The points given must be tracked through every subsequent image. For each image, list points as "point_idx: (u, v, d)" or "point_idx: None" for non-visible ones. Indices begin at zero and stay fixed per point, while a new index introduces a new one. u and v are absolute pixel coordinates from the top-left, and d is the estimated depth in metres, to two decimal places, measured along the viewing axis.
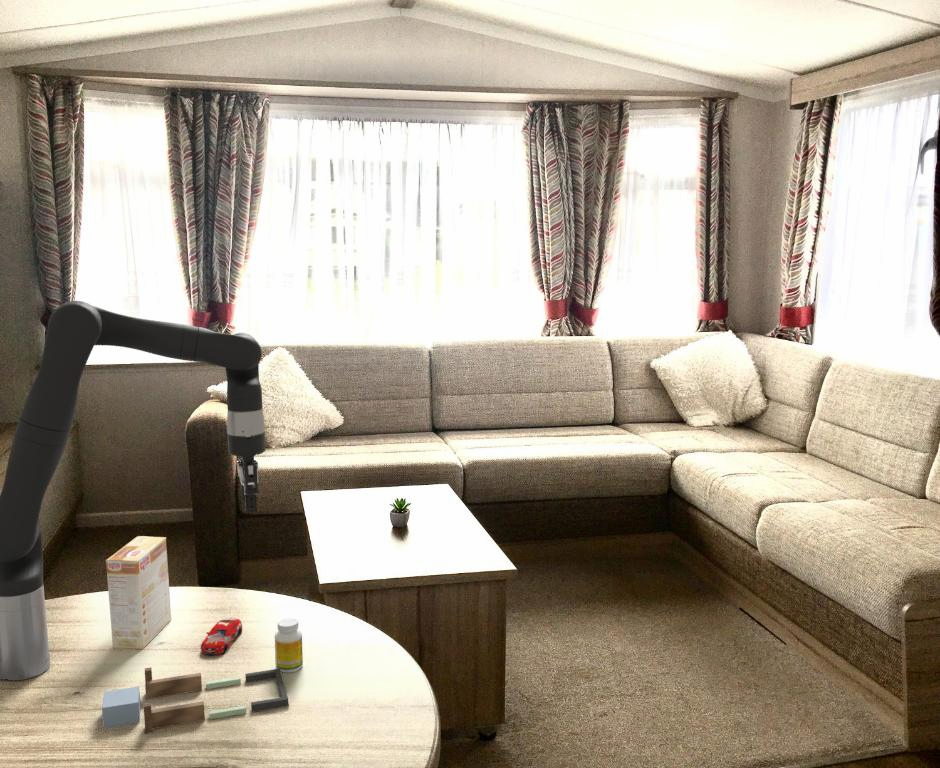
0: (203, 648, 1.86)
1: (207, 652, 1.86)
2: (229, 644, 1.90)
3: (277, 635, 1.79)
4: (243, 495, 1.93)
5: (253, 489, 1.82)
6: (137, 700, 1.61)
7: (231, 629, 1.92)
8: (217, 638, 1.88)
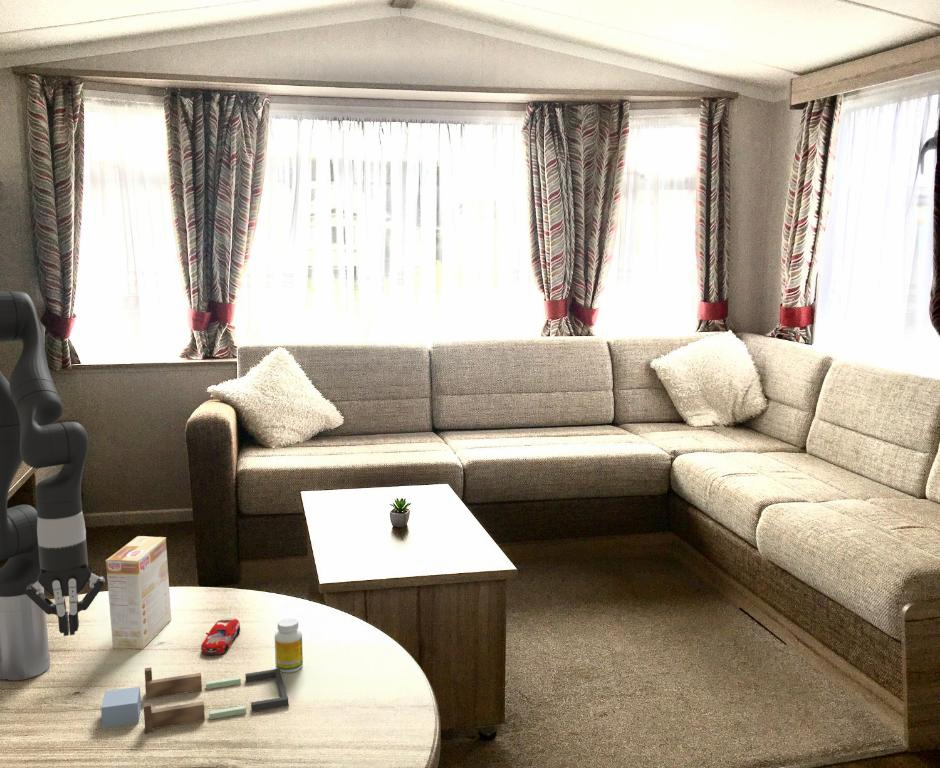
0: (204, 648, 1.86)
1: (208, 652, 1.86)
2: (229, 644, 1.90)
3: (277, 635, 1.79)
4: (67, 629, 1.57)
5: None
6: (136, 700, 1.61)
7: (231, 629, 1.92)
8: (217, 638, 1.88)
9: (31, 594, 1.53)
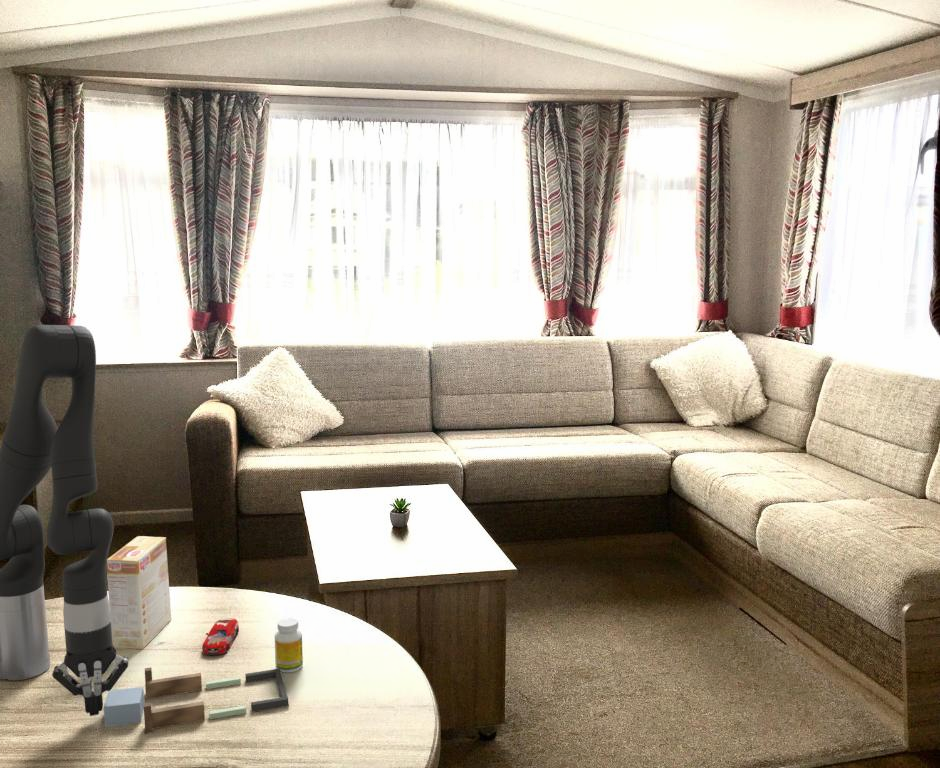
0: (205, 649, 1.86)
1: (210, 653, 1.86)
2: (230, 644, 1.90)
3: (277, 635, 1.79)
4: None
5: None
6: (139, 700, 1.61)
7: (231, 629, 1.92)
8: (218, 638, 1.88)
9: (58, 677, 1.57)
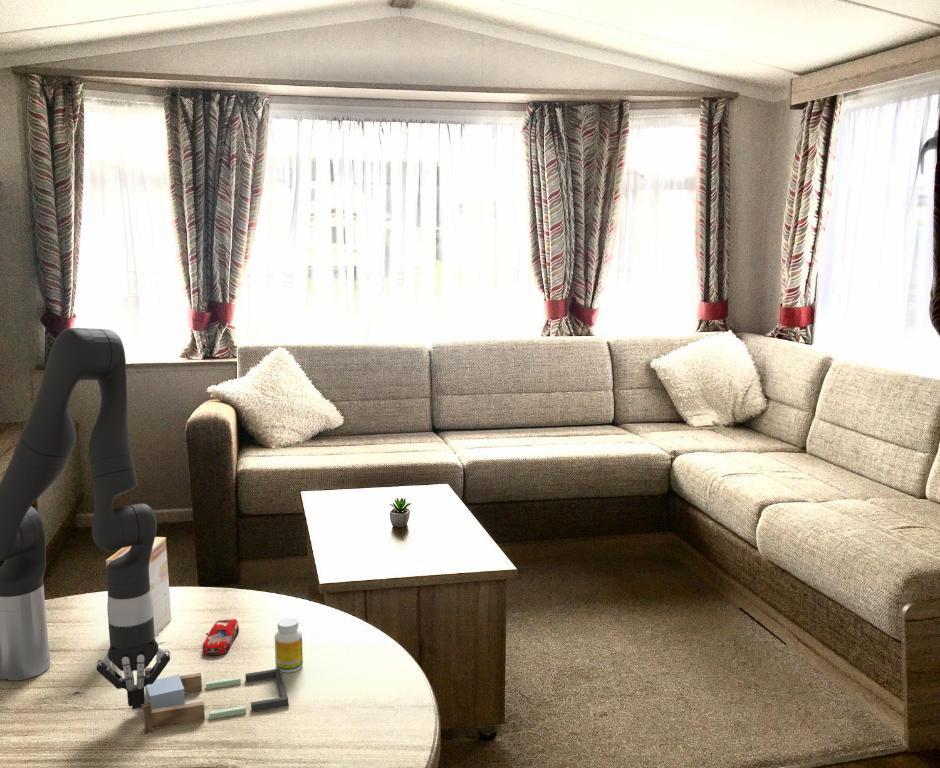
0: (205, 649, 1.86)
1: (210, 653, 1.86)
2: (230, 644, 1.90)
3: (277, 635, 1.79)
4: None
5: None
6: (182, 687, 1.65)
7: (231, 629, 1.92)
8: (218, 638, 1.88)
9: (102, 670, 1.59)
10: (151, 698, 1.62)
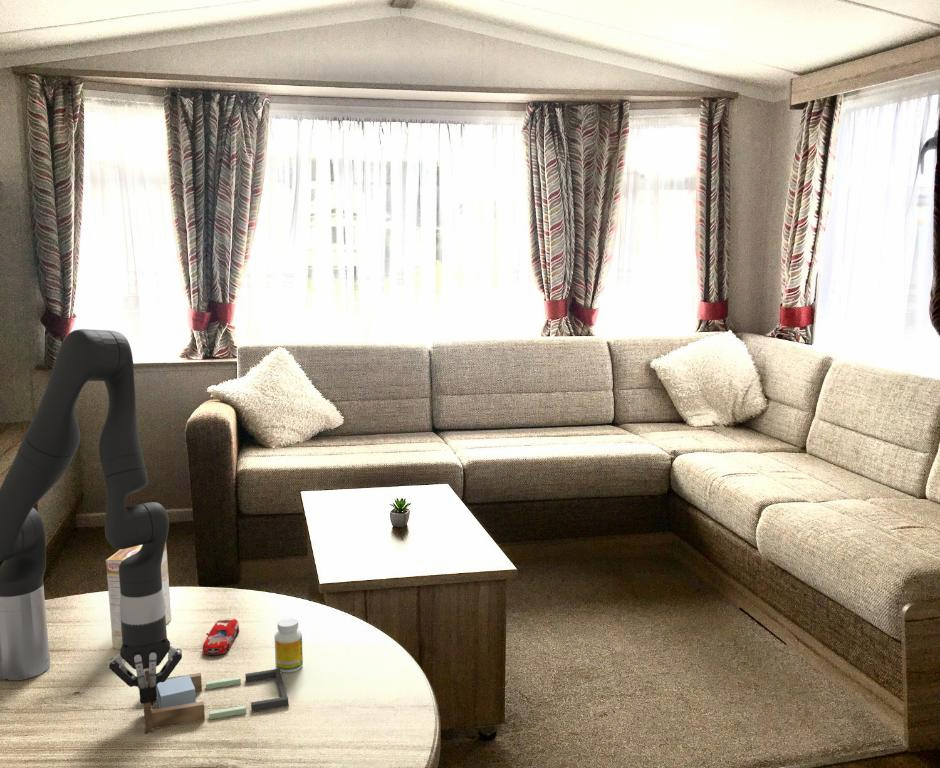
0: (205, 649, 1.86)
1: (210, 653, 1.85)
2: (230, 644, 1.90)
3: (277, 635, 1.79)
4: None
5: None
6: (193, 687, 1.66)
7: (231, 629, 1.92)
8: (218, 638, 1.88)
9: (114, 668, 1.60)
10: (162, 698, 1.63)
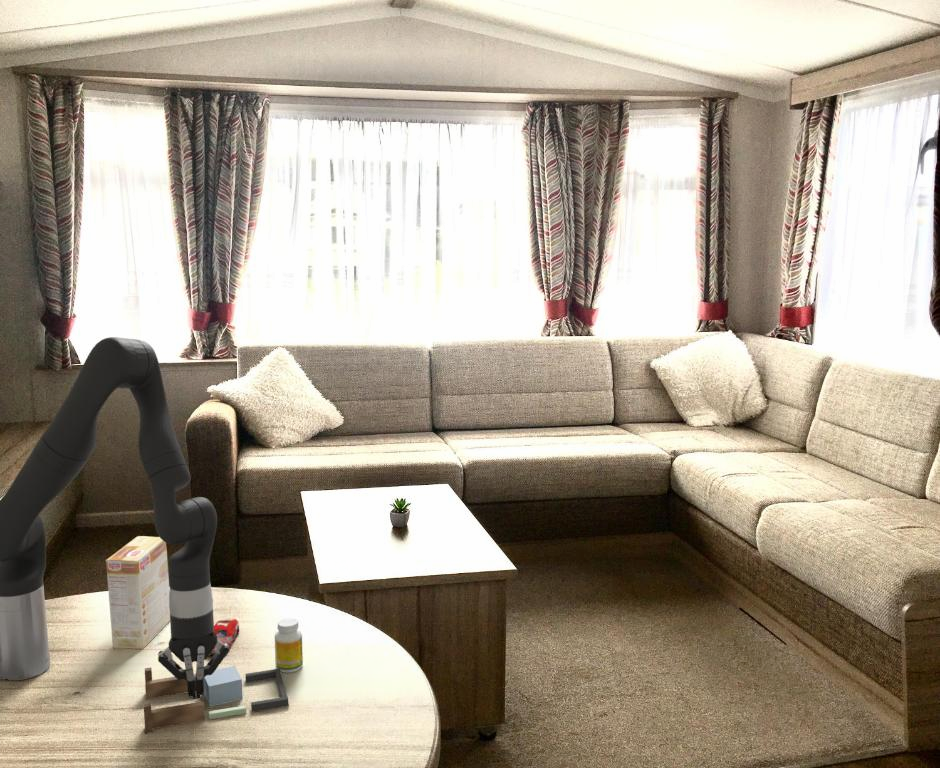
0: None
1: (210, 653, 1.85)
2: (230, 644, 1.90)
3: (277, 635, 1.79)
4: None
5: None
6: (239, 677, 1.69)
7: (231, 629, 1.92)
8: (219, 639, 1.88)
9: (163, 661, 1.62)
10: (210, 688, 1.66)
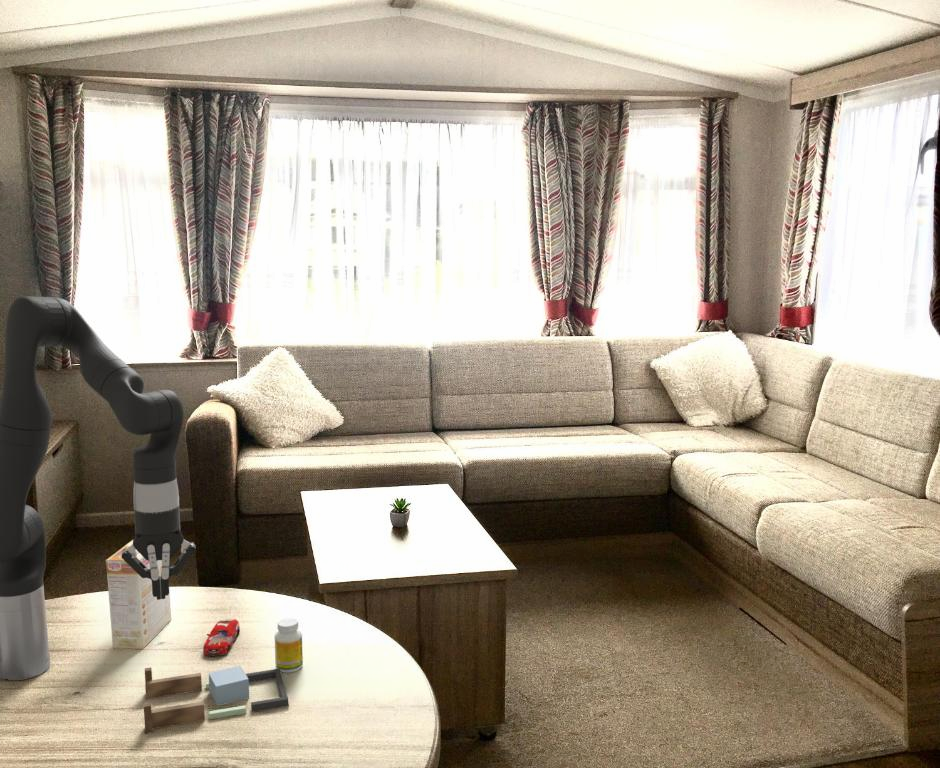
0: (206, 650, 1.86)
1: (211, 653, 1.85)
2: (231, 644, 1.90)
3: (277, 635, 1.79)
4: None
5: None
6: (246, 677, 1.69)
7: (232, 630, 1.92)
8: (219, 639, 1.88)
9: (127, 558, 1.57)
10: (217, 688, 1.66)
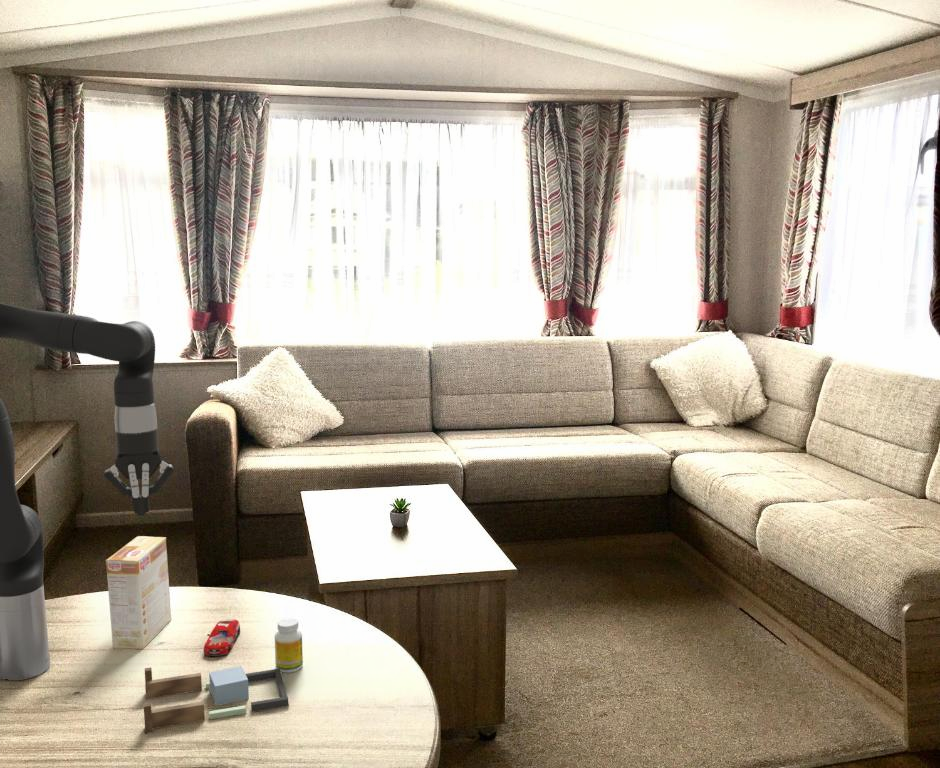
0: (207, 650, 1.85)
1: (211, 654, 1.85)
2: (231, 645, 1.89)
3: (277, 635, 1.79)
4: (141, 510, 1.74)
5: None
6: (246, 677, 1.69)
7: (232, 630, 1.92)
8: (220, 639, 1.88)
9: (109, 477, 1.71)
10: (216, 688, 1.66)
